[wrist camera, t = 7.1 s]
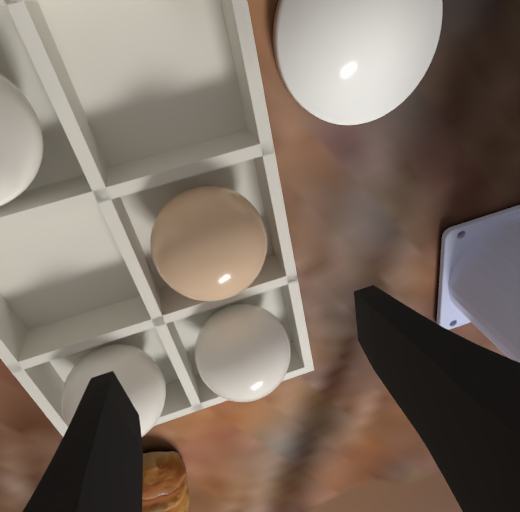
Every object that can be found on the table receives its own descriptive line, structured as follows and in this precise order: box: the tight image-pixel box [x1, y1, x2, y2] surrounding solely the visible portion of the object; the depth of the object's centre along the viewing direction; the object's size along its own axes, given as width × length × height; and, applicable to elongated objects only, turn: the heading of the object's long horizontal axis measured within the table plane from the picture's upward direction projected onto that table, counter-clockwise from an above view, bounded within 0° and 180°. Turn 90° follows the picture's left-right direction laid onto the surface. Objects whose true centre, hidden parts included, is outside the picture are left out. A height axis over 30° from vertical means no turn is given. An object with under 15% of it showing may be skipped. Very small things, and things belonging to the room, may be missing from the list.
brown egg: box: [150, 185, 267, 301], centre depth 17 cm, size 5×5×5 cm
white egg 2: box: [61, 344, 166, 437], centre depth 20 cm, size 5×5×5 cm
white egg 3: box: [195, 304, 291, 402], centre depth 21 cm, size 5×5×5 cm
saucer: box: [273, 0, 442, 125], centre depth 17 cm, size 7×7×1 cm
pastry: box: [142, 451, 189, 512], centre depth 28 cm, size 9×7×4 cm
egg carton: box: [0, 0, 314, 437], centre depth 18 cm, size 14×20×2 cm
